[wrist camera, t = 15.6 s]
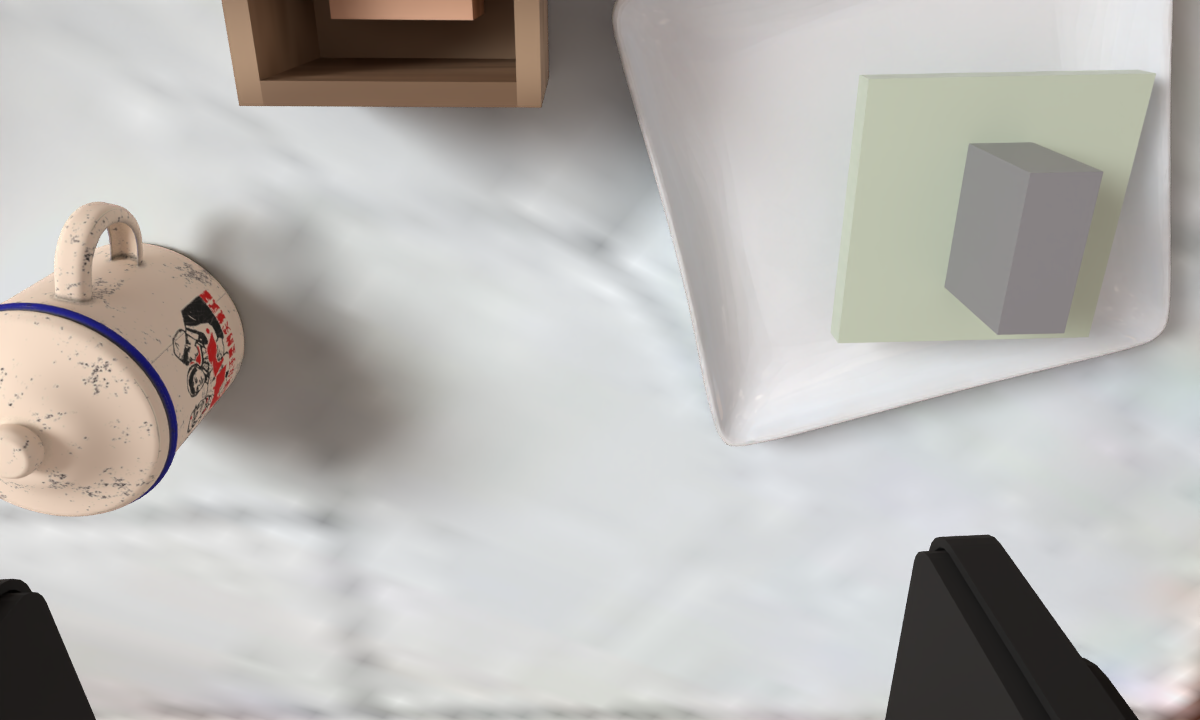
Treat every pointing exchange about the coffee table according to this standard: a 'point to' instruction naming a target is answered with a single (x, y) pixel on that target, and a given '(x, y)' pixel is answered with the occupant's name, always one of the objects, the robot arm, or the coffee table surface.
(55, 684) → the robot arm
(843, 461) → the coffee table surface
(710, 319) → the salad plate
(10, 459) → the teacup with lid
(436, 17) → the crate
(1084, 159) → the lid
